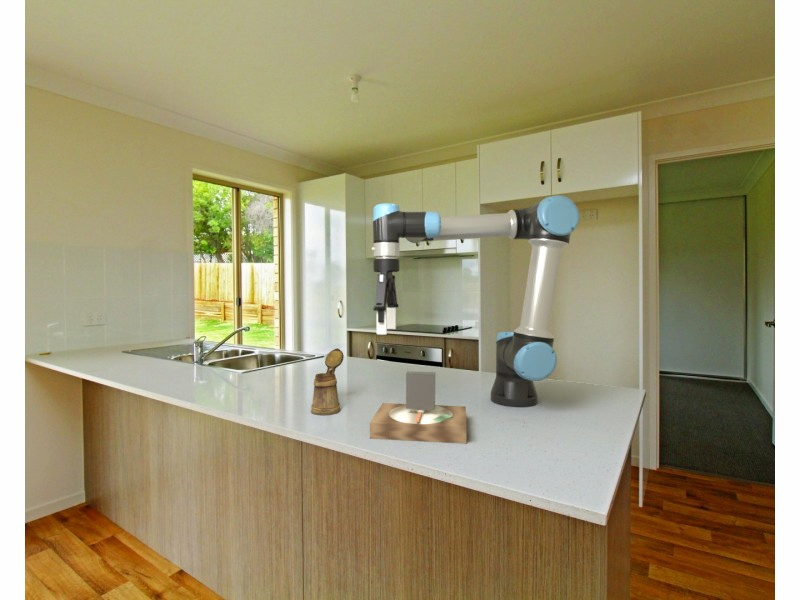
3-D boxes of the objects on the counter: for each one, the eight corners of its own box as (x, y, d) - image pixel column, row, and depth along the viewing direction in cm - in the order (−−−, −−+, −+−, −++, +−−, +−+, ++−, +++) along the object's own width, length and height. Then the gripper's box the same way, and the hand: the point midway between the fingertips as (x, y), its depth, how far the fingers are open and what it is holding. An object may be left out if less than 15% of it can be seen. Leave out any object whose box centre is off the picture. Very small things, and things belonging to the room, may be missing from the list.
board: (465, 420, 124) (465, 405, 124) (466, 443, 106) (466, 425, 106) (382, 416, 127) (382, 401, 127) (369, 438, 109) (369, 421, 109)
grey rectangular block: (435, 411, 117) (435, 372, 117) (432, 424, 107) (432, 380, 106) (407, 410, 118) (407, 371, 118) (402, 422, 108) (402, 379, 108)
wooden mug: (351, 404, 140) (350, 348, 139) (332, 416, 127) (332, 355, 126) (325, 401, 143) (325, 347, 142) (305, 413, 130) (305, 353, 129)
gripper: (382, 260, 139) (383, 326, 140) (362, 256, 114) (363, 336, 115) (406, 260, 137) (406, 327, 138) (390, 255, 113) (391, 337, 114)
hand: (386, 331), depth 127 cm, fingers open, 13 cm apart
